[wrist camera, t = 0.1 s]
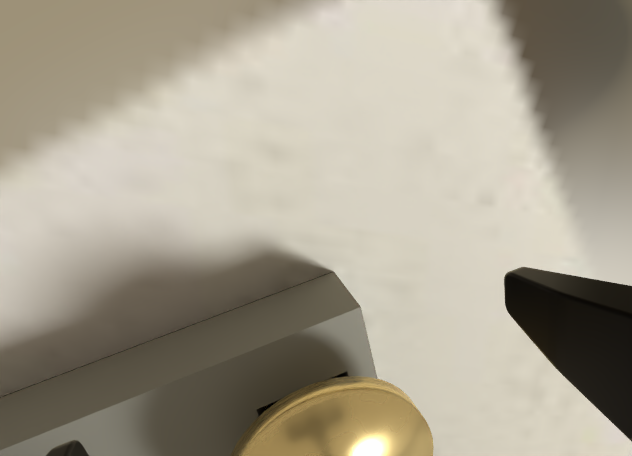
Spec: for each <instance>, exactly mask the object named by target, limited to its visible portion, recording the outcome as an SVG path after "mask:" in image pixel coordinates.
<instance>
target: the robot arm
mask: <svg viewBox="0 0 632 456" xmlns="http://www.w3.org/2000/svg"><path fill="white" fill-rule="evenodd" d="M504 287H505V305H506V309H507V311H508V313H509V314H510V316H511V317H512V318H513V319H514V320H515V321H516V323H517V324H518V325H519V326H520V327H521V328H522V330H523V331H524V332H525V333H526V334H527V335H528V337H529V338H530V339H531V340H532V341H533V342H534V344H535V345H536V346H537V347H538V348H539V349H540V351H541V352H542V353H543V354H544V355H545V356H546V358H547V359H548V360H549V361H550V362H551V363H552V364H553V365H554V366H555V368H556V369H557V370H558V371H559V372H560V373H561V374H562V375H563V376H564V377H565V378H566V379H567V380H568V381H569V382H571V383H572V384H573V385H574V386H575V387H576V388H577V389H578V390H579V391H580V392H581V393H582V394H583V395H584V396H585V397H586V398H587V399H588V400H589V401H590V402H591V403H592V404H593V405H594V406H595V407H597V408H598V409H599V410H600V411H601V412H602V413H603V414H604V415H605V416H606V417H607V418H608V419H609V420H610V421H611V422H612V423H613V424H614V425H615V426H616V427H617V428H618V429H619V430H620V431H621V432H623V433H624V434H625V435H626V436H627V437H628V438H629V439H630V440H631V441H632V286H628V285H623V284H617V283H611V282H605V281H600V280H594V279H589V278H583V277H578V276H572V275H566V274H561V273H555V272H549V271H544V270H538V269H533V268H527V267H521V268H518V269H515V270H513V271H510V272H508V273H507V274H506V275H505V277H504ZM46 456H89V455H88V453H87V452H86V450H85V448H84V447H83V445H82V444H81V443H80V442H79V441H78V440H72V441H69V442H66V443H64V444H61V445H59V446H56V447H54V448H52V449H51V450H50V451H49V452H48V453H47V455H46Z"/></svg>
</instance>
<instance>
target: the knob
mask: <svg viewBox="0 0 632 456" xmlns="http://www.w3.org/2000/svg"><path fill="white" fill-rule="evenodd" d="M231 456H433V438H432V435H431V431H430V428H429V426H428V424H427V422H426V420H425V419H424V418H423V416H422V415H421V413H420V412H419V410H418V409H417V408H416V406H415V405H414V403H413V402H412V401H411V399H410V398H409V397H408V396H407V395H406V394H405V393H404V392H403V391H402V390H401V389H399V388H398V387H396V386H394V385H393V384H391V383H388V382H386V381H383V380H380V379H375V378H371V377H361V376H349V377H339V378H332V379H327V380H324V381H320V382H317V383H314V384H311V385H309V386H306V387H303V388H301V389H299V390H297V391H295V392H293V393H291V394H289V395H288V396H286V397H284V398H282V399H280V400H278V401H275V402H274V404H273V405H272V406H271V407H270V408H268V409H267V410H266V411H264V412H263V413H262V414H261V415H260V416H259V417H258V418H257V419H256V420H255V421H254V422H253V423H252V424H251V425H250V426H249V428H248V429H247V430H246V431H245V432H244V434H243V435H242V437H241V438H240V440H239V441H238V442H237V444H236V446H235V448H234V450H233V452H232V454H231Z"/></svg>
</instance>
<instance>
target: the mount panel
mask: <svg viewBox="0 0 632 456" xmlns="http://www.w3.org/2000/svg"><path fill="white" fill-rule="evenodd" d="M334 376H337V378H339V377H349V376H361V377H371V378H375V379H377V375H376V370H375V366H374V362H373V358H372V353H371V349H370V345H369V341H368V336H367V332H366V328H365V323H364V319H363V315H362V311H361V307H360V305H359V304H358V303H357V302H356V300H355V299H354V298H353V296H352V295H351V294H350V292H349V291H348V290H347V288H346V287H345V286H344V284H343V283H342V282H341V280H340V279H339V278H338V277H337V275H336V274H335V273H334V272H332V273H329V274H326V275H324V276H321V277H319V278H316V279H313V280H311V281H308V282H305V283H303V284H300V285H297V286H295V287H292V288H289V289H287V290H284V291H281V292H279V293H276V294H274V295H271V296H268V297H266V298H263V299H260V300H258V301H255V302H252V303H250V304H247V305H244V306H242V307H239V308H236V309H234V310H231V311H228V312H226V313H223V314H221V315H218V316H215V317H213V318H210V319H207V320H205V321H202V322H199V323H197V324H194V325H191V326H189V327H186V328H183V329H181V330H178V331H176V332H173V333H170V334H168V335H165V336H162V337H160V338H157V339H154V340H152V341H149V342H146V343H144V344H141V345H138V346H136V347H133V348H131V349H128V350H125V351H123V352H120V353H117V354H115V355H112V356H109V357H107V358H104V359H101V360H99V361H96V362H93V363H91V364H88V365H85V366H83V367H80V368H78V369H75V370H72V371H70V372H67V373H64V374H62V375H59V376H56V377H54V378H51V379H48V380H46V381H43V382H40V383H38V384H35V385H33V386H30V387H27V388H25V389H22V390H19V391H17V392H14V393H11V394H9V395H6V396H3V397H1V398H0V456H46V455H47V453H48V452H49V451H50V450H51V449H52V448H54V447H56V446H59V445H61V444H64V443H66V442H69V441H72V440H78V441H79V442H80V443H81V444H82V445H83V447H84V448H85V450H86V452H87V453H88V455H89V456H231V454H232V452H233V450H234V448H235V446H236V444H237V442H238V441H239V440H240V438H241V437H242V435H243V434H244V432H245V431H246V430H247V429H248V428H249V426H250V425H251V424H252V423H253V422H254V421H255V420H256V419H257V418H258V417H259V416H260V415H261V414H262V413H263V412H264V409H263V407H264V406H266V405H268V404H271V403H273V402H275V401H278V400H280V399H282V398H284V397H286V396H288V395H289V394H291V393H293V392H295V391H297V390H299V389H301V388H303V387H306V386H309V385H311V384H314V383H317V382H320V381H324V380H327V379H330V378H332V377H334Z"/></svg>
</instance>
